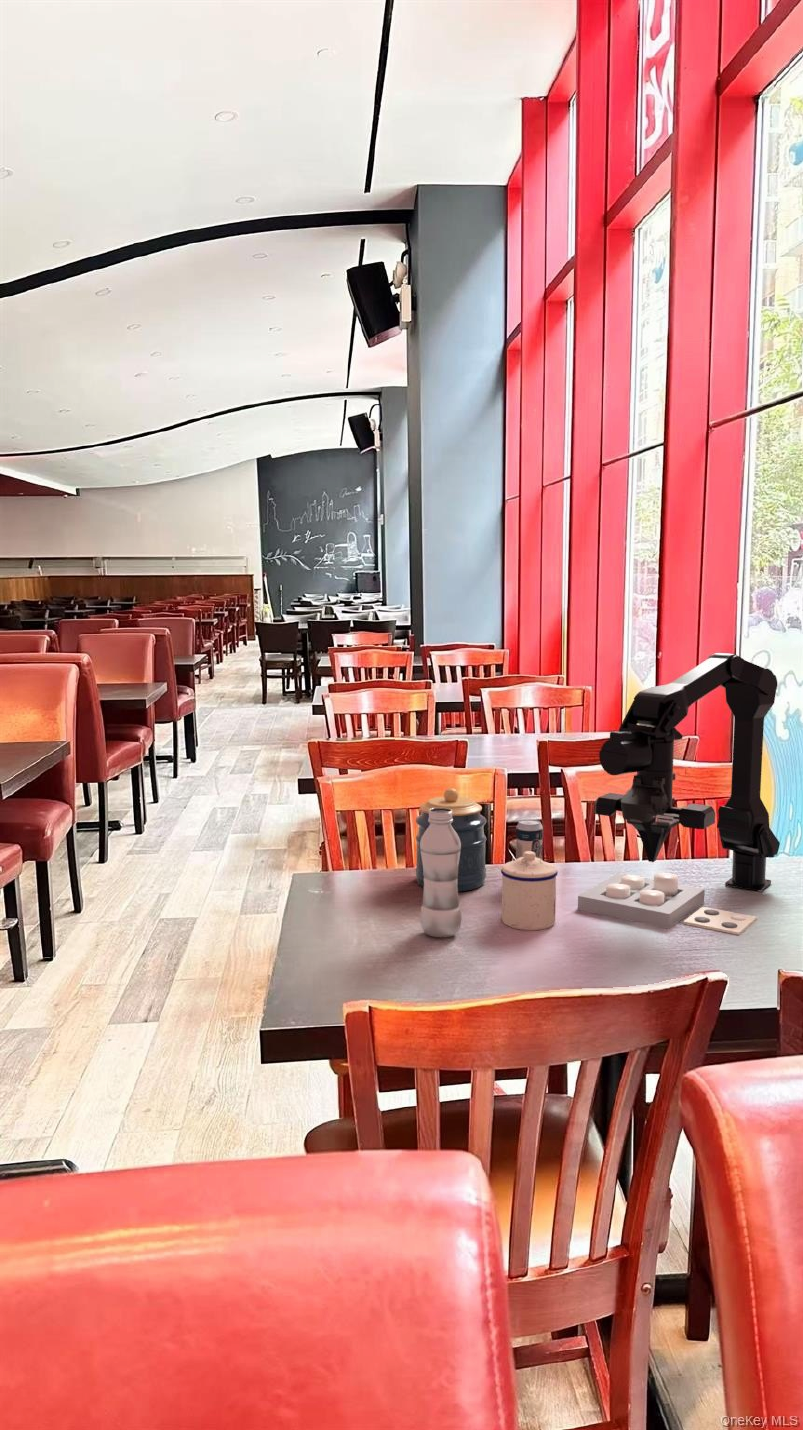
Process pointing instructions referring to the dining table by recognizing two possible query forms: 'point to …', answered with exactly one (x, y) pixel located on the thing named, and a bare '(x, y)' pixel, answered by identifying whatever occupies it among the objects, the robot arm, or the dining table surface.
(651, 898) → the button
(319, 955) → the dining table surface
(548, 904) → the teacup with lid
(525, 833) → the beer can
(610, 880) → the board
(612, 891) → the button
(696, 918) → the card
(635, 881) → the button
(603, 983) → the dining table surface
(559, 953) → the dining table surface
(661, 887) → the button
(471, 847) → the canister
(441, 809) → the plastic bottle
